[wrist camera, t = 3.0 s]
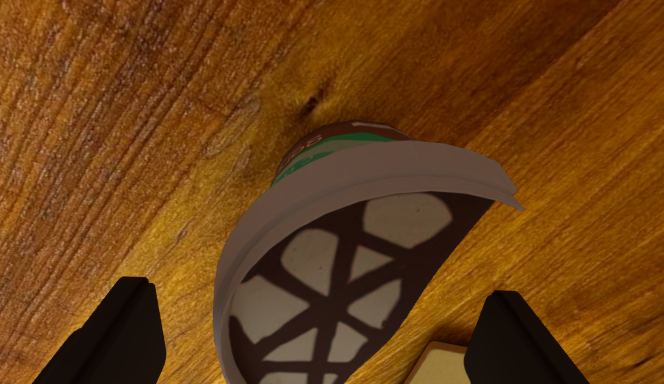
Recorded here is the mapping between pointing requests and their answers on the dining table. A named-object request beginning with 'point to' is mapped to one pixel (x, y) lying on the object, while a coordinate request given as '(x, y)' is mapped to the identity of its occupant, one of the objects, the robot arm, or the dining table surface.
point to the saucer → (440, 365)
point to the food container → (343, 250)
